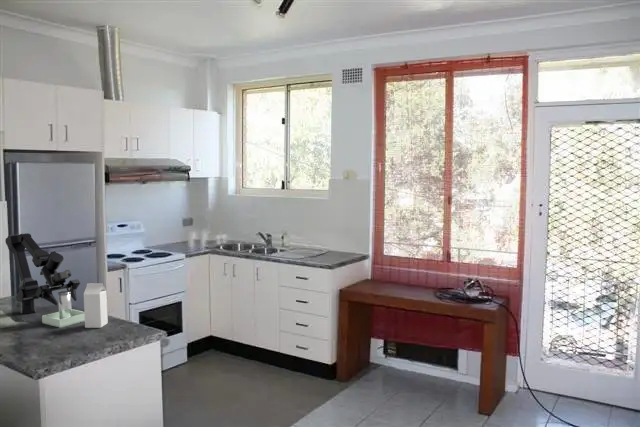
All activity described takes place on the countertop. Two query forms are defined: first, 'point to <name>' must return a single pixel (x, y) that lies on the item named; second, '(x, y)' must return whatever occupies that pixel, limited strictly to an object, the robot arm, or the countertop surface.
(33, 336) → the countertop surface
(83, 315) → the tray
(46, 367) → the countertop surface
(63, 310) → the steel canister
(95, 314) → the milk carton
